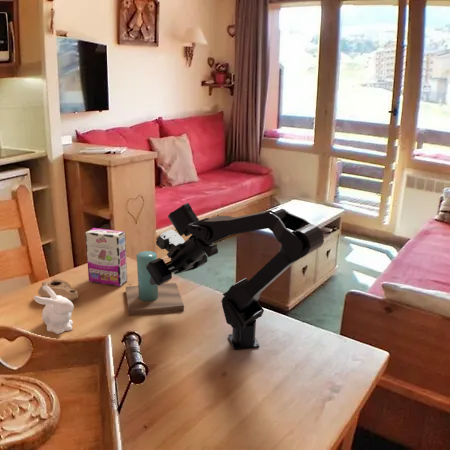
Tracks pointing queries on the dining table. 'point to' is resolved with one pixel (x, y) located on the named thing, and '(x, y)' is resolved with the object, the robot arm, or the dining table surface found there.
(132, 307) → the walnut board
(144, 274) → the teal cup
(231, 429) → the dining table surface
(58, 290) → the pottery oil lamp
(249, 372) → the dining table surface
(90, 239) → the candy bar box
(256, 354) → the dining table surface
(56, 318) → the rabbit
